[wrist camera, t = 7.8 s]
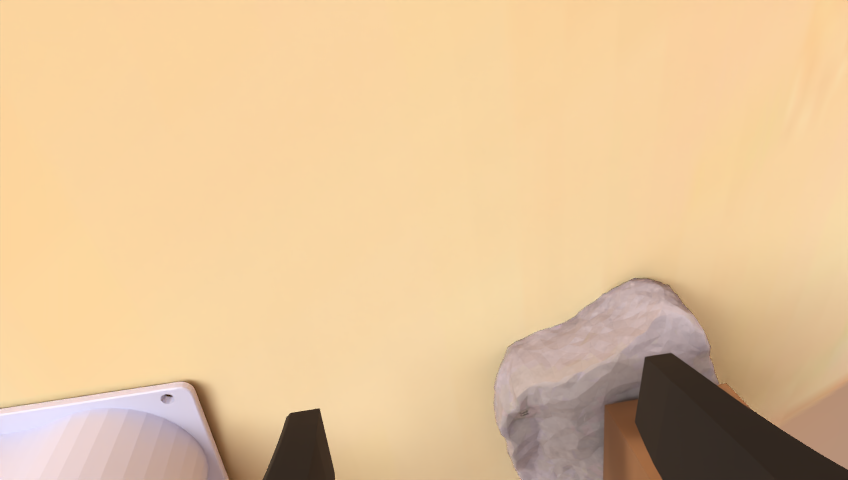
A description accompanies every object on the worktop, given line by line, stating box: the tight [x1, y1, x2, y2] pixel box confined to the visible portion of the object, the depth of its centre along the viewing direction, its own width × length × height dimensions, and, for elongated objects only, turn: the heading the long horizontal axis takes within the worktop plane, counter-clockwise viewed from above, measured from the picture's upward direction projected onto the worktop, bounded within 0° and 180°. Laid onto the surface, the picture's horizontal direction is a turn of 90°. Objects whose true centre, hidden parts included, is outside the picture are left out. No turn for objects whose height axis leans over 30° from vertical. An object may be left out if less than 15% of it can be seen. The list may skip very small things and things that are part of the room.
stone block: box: [494, 278, 719, 480], centre depth 26 cm, size 12×5×10 cm
